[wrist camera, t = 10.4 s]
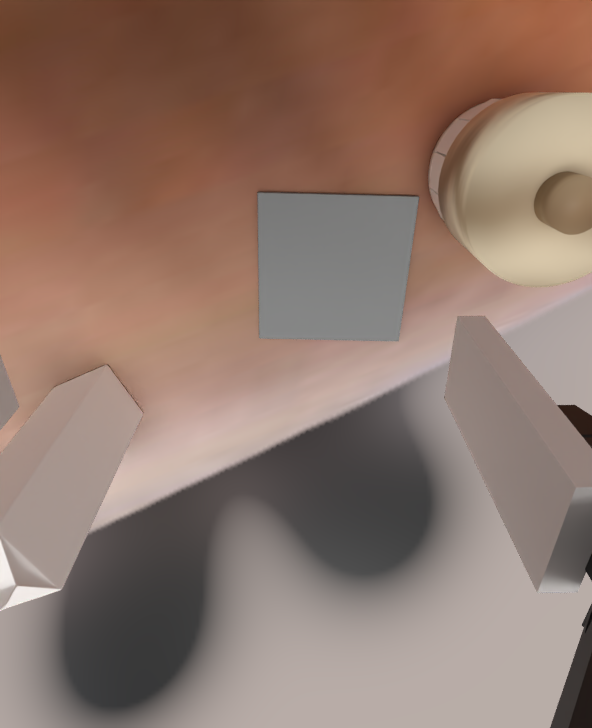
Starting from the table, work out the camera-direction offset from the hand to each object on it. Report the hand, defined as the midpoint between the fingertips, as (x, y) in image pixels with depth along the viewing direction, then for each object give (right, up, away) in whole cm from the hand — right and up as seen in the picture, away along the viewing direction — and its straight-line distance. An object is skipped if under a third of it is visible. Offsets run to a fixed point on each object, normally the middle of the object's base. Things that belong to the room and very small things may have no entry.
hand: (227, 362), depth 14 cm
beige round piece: (+16, +12, +17) cm, 27 cm away
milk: (-16, -3, +32) cm, 36 cm away
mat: (+5, +7, +25) cm, 27 cm away
